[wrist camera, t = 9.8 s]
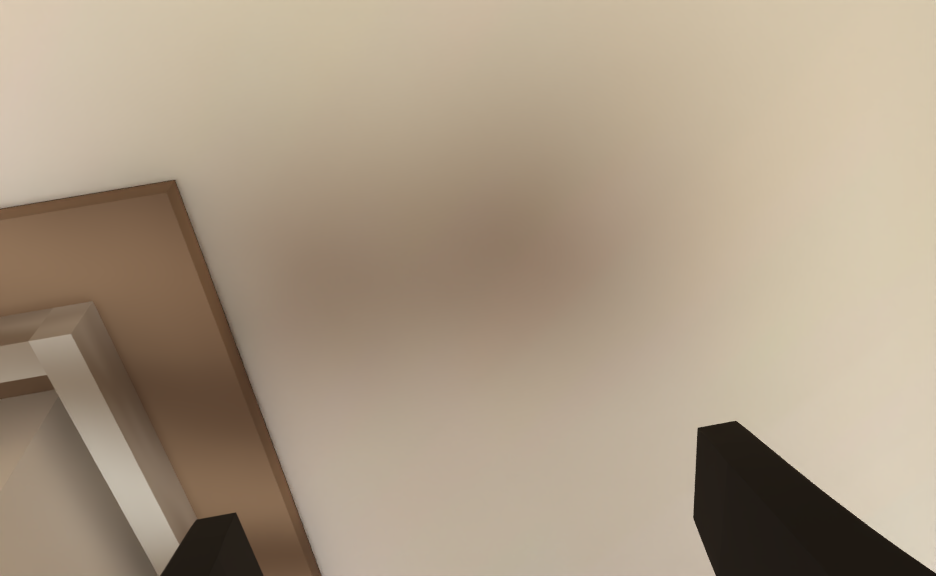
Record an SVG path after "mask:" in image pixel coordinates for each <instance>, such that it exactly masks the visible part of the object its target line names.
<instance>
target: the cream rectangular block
mask: <svg viewBox="0 0 936 576" xmlns="http://www.w3.org/2000/svg"><path fill="white" fill-rule="evenodd" d="M0 576H158V574H157V572H156V571H155V569H154V567H153V565H152V563H151V562H150V560H149V558H148V556H147V554H146V553H145V551H144V549H143V547H142V545H141V544H140V542H139V540H138V538H137V536H136V535H135V533H134V531H133V529H132V527H131V526H130V524H129V522H128V520H127V518H126V516H125V515H124V513H123V511H122V509H121V507H120V506H119V504H118V502H117V500H116V498H115V497H114V495H113V493H112V491H111V489H110V488H109V486H108V484H107V482H106V480H105V479H104V477H103V475H102V473H101V471H100V470H99V468H98V466H97V464H96V462H95V461H94V459H93V457H92V455H91V453H90V452H89V450H88V448H87V446H86V444H85V443H84V441H83V439H82V437H81V435H80V434H79V432H78V430H77V428H76V426H75V425H74V423H73V421H72V419H71V417H70V416H69V414H68V412H67V410H66V408H65V407H64V405H63V403H62V401H61V399H60V398H59V396H58V394H57V392H56V390H50V391H45V392H39V393H33V394H28V395H22V396H16V397H11V398H5V399H0Z"/></svg>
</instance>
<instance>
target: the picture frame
mask: <svg viewBox="0 0 936 576" xmlns="http://www.w3.org/2000/svg"><path fill="white" fill-rule="evenodd" d="M50 390H56V392H57V394H58V396H59V398H60V399H61V401H62V403H63V405H64V407H65V408H66V410H67V412H68V414H69V416H70V417H71V419H72V421H73V423H74V425H75V426H76V428H77V430H78V432H79V434H80V435H81V437H82V439H83V441H84V443H85V444H86V446H87V448H88V450H89V452H90V453H91V455H92V457H93V459H94V461H95V462H96V464H97V466H98V468H99V470H100V471H101V473H102V475H103V477H104V479H105V480H106V482H107V484H108V486H109V488H110V489H111V491H112V493H113V495H114V497H115V498H116V500H117V502H118V504H119V506H120V507H121V509H122V511H123V513H124V515H125V516H126V518H127V520H128V522H129V524H130V526H131V527H132V529H133V531H134V533H135V535H136V536H137V538H138V540H139V542H140V544H141V545H142V547H143V549H144V551H145V553H146V554H147V556H148V558H149V560H150V562H151V563H152V565H153V567H154V569H155V571H156V572H157V574H158V576H160V575H161V573H162V572H163V570H164V569H165V567H166V565H167V564H168V562H169V561H170V559H171V557H172V556H173V554H174V553H175V551H176V549H177V548H178V546H179V545H180V543H181V542H182V540H183V538H184V537H185V535H186V534H187V532H188V531H189V529H190V527H191V526H192V525H193V523H194V522H195V521H196V520H197V519H202V518H208V517H213V516H219V515H224V514H230V513H235V512H236V513H237V516H238V518H239V520H240V523H241V525H242V527H243V529H244V532H245V534H246V536H247V539H248V541H249V543H250V545H251V548H252V550H253V552H254V555H255V557H256V559H257V562H258V564H259V566H260V568H261V571H262V573H263V575H264V576H321V574H320V571H319V569H318V566H317V563H316V561H315V558H314V555H313V552H312V550H311V547H310V544H309V542H308V539H307V536H306V533H305V531H304V528H303V525H302V523H301V520H300V517H299V515H298V512H297V509H296V506H295V504H294V501H293V498H292V496H291V493H290V490H289V488H288V485H287V482H286V479H285V477H284V474H283V471H282V469H281V466H280V463H279V461H278V458H277V455H276V452H275V450H274V447H273V444H272V442H271V439H270V436H269V434H268V431H267V428H266V425H265V423H264V420H263V417H262V415H261V412H260V409H259V407H258V404H257V401H256V398H255V396H254V393H253V390H252V388H251V385H250V382H249V380H248V377H247V374H246V371H245V369H244V366H243V363H242V361H241V358H240V355H239V353H238V350H237V347H236V344H235V342H234V339H233V336H232V334H231V331H230V328H229V325H228V323H227V320H226V317H225V315H224V312H223V309H222V307H221V304H220V301H219V298H218V296H217V293H216V290H215V288H214V285H213V282H212V280H211V277H210V274H209V271H208V269H207V266H206V263H205V261H204V258H203V255H202V253H201V250H200V247H199V244H198V242H197V239H196V236H195V234H194V231H193V228H192V226H191V223H190V220H189V217H188V215H187V212H186V209H185V207H184V204H183V201H182V199H181V196H180V193H179V190H178V188H177V185H176V182H175V180H173V181H167V182H161V183H155V184H149V185H143V186H137V187H131V188H125V189H119V190H113V191H107V192H101V193H95V194H89V195H83V196H77V197H71V198H65V199H59V200H53V201H47V202H41V203H35V204H29V205H23V206H17V207H11V208H5V209H0V399H5V398H11V397H16V396H22V395H28V394H33V393H39V392H45V391H50Z"/></svg>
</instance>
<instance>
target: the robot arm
mask: <svg viewBox="0 0 936 576" xmlns="http://www.w3.org/2000/svg"><path fill="white" fill-rule="evenodd" d="M693 519H694V521H695V524H696V526H697V529H698V532H699V534H700V537H701V539H702V542H703V545H704V547H705V550H706V552H707V555H708V557H709V560H710V562H711V565H712V567H713V570H714V572H715V574H716V576H936V573H935V572H933V571H932V570H930V569H929V568H927V567H926V566H924V565H923V564H921V563H920V562H919V561H917V560H916V559H914V558H913V557H911V556H910V555H908V554H907V553H906V552H904V551H903V550H901V549H900V548H898V547H897V546H895V545H894V544H893V543H891V542H890V541H889V540H887V539H886V538H884V537H883V536H882V535H880V534H879V533H878V532H876V531H875V530H873V529H872V528H871V527H869V526H868V525H867V524H865V523H864V522H863V521H861V520H860V519H859V518H857V517H856V516H855V515H854V514H852V513H851V512H850V511H848V510H847V509H846V508H844V507H843V506H842V505H840V504H839V503H838V502H836V501H835V500H834V499H832V498H831V497H830V496H829V495H827V494H826V493H825V492H823V491H822V490H821V489H820V488H818V487H817V486H816V485H815V484H813V483H812V482H811V481H810V480H808V479H807V478H806V477H805V476H803V475H802V474H801V473H800V472H798V471H797V470H796V469H795V468H793V467H792V466H791V465H790V464H788V463H787V462H786V461H785V460H784V459H782V458H781V457H780V456H779V455H778V454H776V453H775V452H774V451H773V450H771V449H770V448H769V447H768V446H767V445H765V444H764V443H763V442H762V441H761V440H759V439H758V438H757V437H756V436H754V435H753V434H752V433H751V432H750V431H748V430H747V429H746V428H745V427H743V426H742V425H741V424H740V423H738V422H737V421H733V422H727V423H722V424H716V425H711V426H705V427H700V428H698V433H697V454H696V474H695V495H694V515H693ZM160 576H264V575H263V573H262V571H261V568H260V566H259V564H258V562H257V559H256V557H255V555H254V552H253V550H252V548H251V545H250V543H249V541H248V539H247V536H246V534H245V532H244V529H243V527H242V525H241V523H240V520H239V518H238V516H237V513H236V512H235V513H230V514H224V515H219V516H213V517H208V518H202V519H197V520H196V521H195V522H194V523H193V525H192V526H191V527H190V529H189V531H188V532H187V534H186V535H185V537H184V538H183V540H182V542H181V543H180V545H179V546H178V548H177V549H176V551H175V553H174V554H173V556H172V557H171V559H170V561H169V562H168V564H167V565H166V567H165V569H164V570H163V572H162V573H161V575H160Z"/></svg>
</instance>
